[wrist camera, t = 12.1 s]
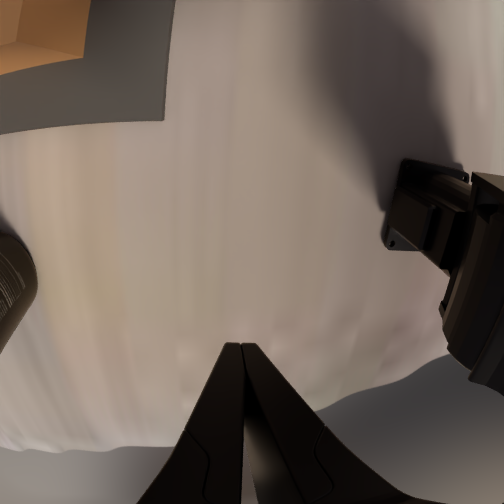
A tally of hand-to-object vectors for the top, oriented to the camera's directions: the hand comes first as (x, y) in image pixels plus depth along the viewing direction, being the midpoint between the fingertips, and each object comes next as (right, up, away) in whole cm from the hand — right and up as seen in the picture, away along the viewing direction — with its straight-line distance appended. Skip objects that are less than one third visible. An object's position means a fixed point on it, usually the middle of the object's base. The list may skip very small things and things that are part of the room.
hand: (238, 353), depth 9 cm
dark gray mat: (-12, +17, +4) cm, 21 cm away
